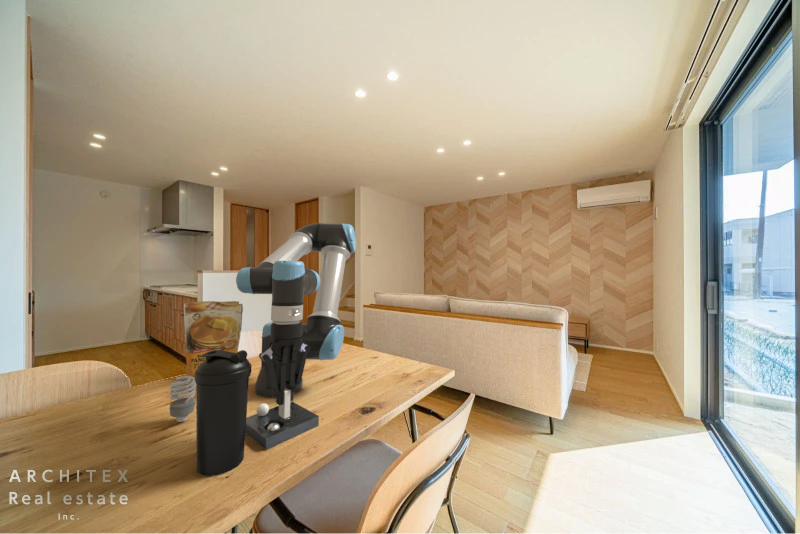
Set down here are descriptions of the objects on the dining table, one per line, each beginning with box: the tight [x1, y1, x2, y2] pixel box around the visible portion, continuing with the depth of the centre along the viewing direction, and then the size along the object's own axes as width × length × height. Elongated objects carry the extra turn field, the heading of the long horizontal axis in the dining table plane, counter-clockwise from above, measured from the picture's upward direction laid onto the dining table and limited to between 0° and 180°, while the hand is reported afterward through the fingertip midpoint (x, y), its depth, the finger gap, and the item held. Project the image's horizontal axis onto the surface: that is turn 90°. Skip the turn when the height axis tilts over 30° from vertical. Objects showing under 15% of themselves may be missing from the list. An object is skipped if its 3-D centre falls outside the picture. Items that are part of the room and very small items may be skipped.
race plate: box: [245, 401, 320, 451], centre depth 75 cm, size 13×14×2 cm
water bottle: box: [194, 349, 252, 477], centre depth 61 cm, size 10×10×23 cm
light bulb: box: [169, 375, 197, 423], centre depth 76 cm, size 6×6×12 cm
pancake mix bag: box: [182, 300, 244, 381], centre depth 109 cm, size 7×19×28 cm, turn 115°
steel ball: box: [266, 423, 280, 431], centre depth 71 cm, size 3×3×3 cm
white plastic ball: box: [256, 403, 270, 416], centre depth 76 cm, size 3×3×3 cm
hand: (284, 415), depth 73 cm, fingers closed
